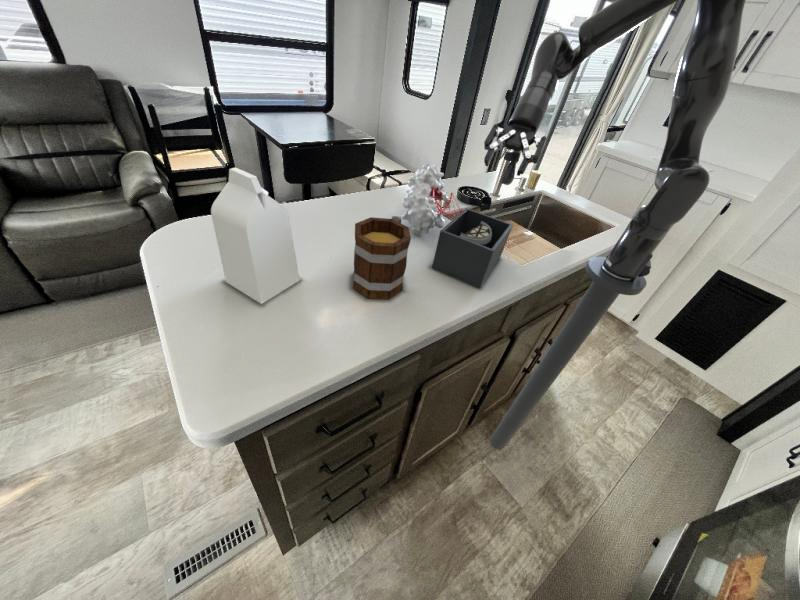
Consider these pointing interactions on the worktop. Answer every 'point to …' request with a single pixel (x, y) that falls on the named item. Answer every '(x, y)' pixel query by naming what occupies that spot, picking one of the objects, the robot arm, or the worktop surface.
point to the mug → (380, 257)
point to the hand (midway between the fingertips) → (502, 169)
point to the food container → (479, 234)
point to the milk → (253, 238)
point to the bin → (470, 248)
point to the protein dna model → (426, 200)
